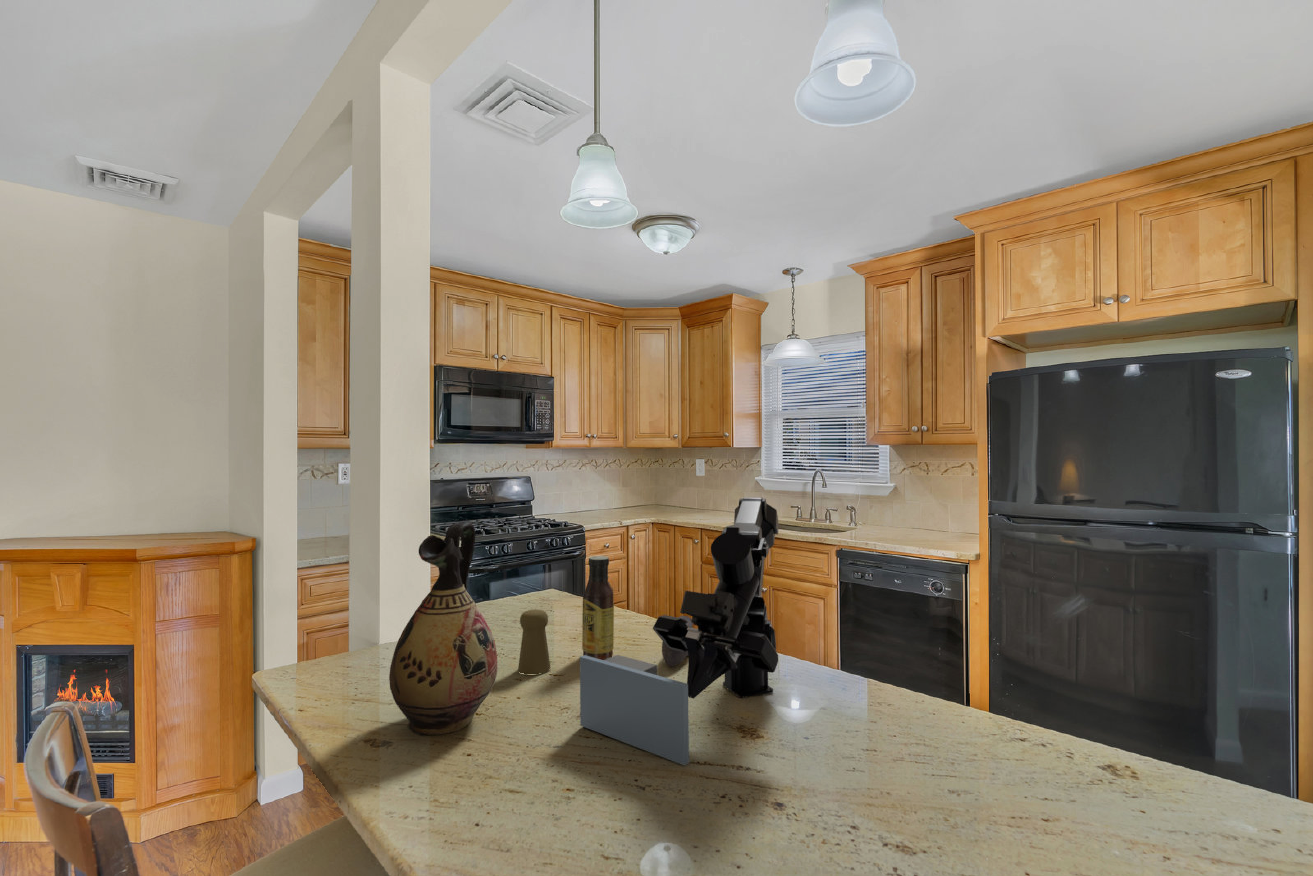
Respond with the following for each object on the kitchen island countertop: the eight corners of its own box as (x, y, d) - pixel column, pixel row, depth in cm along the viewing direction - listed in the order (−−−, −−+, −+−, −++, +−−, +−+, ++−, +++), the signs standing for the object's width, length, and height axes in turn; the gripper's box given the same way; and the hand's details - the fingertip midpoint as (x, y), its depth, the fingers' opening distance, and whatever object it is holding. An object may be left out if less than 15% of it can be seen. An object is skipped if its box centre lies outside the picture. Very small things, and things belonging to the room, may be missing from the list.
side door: (585, 723, 91) (584, 655, 91) (689, 762, 79) (688, 683, 79) (580, 725, 90) (579, 656, 90) (684, 765, 78) (683, 686, 78)
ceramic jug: (466, 750, 83) (465, 529, 84) (366, 741, 86) (366, 528, 87) (518, 701, 100) (518, 517, 101) (433, 694, 103) (433, 516, 104)
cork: (511, 672, 113) (510, 612, 114) (532, 662, 119) (531, 605, 119) (536, 677, 111) (536, 616, 111) (557, 667, 116) (556, 608, 116)
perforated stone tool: (679, 674, 112) (679, 635, 112) (652, 671, 113) (651, 633, 114) (699, 649, 126) (698, 615, 126) (674, 647, 128) (674, 613, 128)
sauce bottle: (578, 655, 123) (577, 555, 123) (607, 650, 125) (606, 553, 126) (588, 665, 117) (587, 560, 118) (619, 660, 120) (618, 558, 120)
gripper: (659, 562, 95) (611, 652, 86) (767, 575, 83) (724, 681, 74) (689, 603, 100) (647, 692, 91) (794, 621, 89) (757, 725, 80)
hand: (689, 696), depth 84 cm, fingers closed
